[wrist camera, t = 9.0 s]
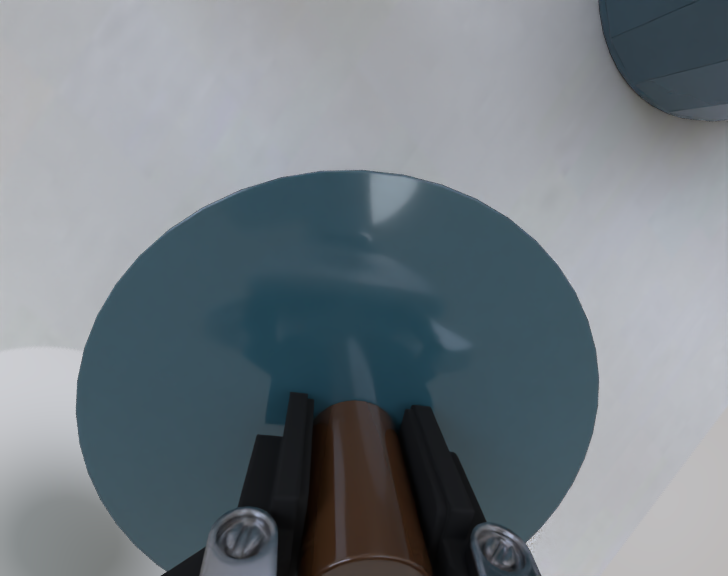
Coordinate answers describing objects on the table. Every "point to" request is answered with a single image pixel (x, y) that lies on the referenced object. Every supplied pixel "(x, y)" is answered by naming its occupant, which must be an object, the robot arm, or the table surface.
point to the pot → (672, 53)
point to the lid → (336, 366)
